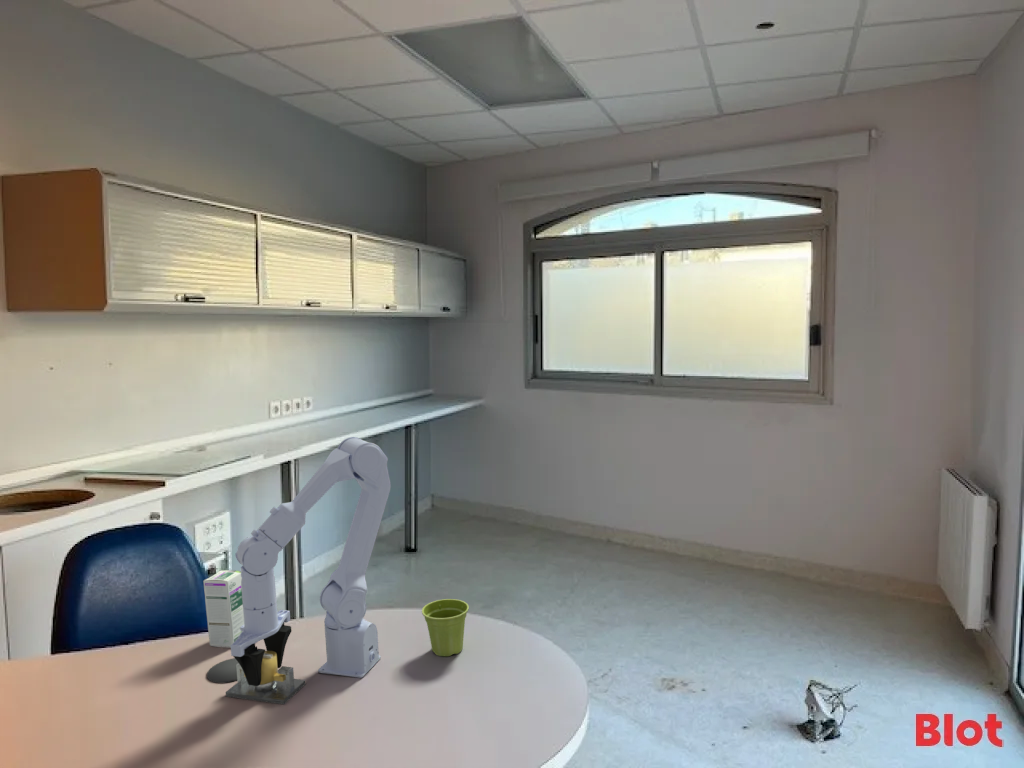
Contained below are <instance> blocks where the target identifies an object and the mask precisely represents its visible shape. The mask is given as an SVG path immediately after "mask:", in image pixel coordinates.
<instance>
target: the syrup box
mask: <svg viewBox="0 0 1024 768" xmlns="http://www.w3.org/2000/svg"><path fill="white" fill-rule="evenodd" d="M241 580H242V577H241V570H235V569H229V570H228V569H227V570H219V571H218V572H217V573H215V574H213V575H211V576H210V577H208V578H205V579H204V580H203V581H202V582H203V590H204V602H205V611H206V612H205V613H206V621H207V630H208V641H209V646H210V647H215V648H217V647H218V648H230V649H231V645H232V644H233V643H234V642H235V641H236V640H237V638H238V637H239V635H240V634H241V633H242V631H241V630H240V627H241V626H242V625H244V614H243V601H242V588H241Z"/></svg>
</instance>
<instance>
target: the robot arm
mask: <svg viewBox="0 0 1024 768" xmlns="http://www.w3.org/2000/svg"><path fill="white" fill-rule="evenodd" d="M388 460H389V458H388V456H387V455H386V454H385V453H384V451H383V449H381V447H380V446H379V445H377V444H375V443H373V442H368V441H366V440H363V439H361V438H360V437H356V436H350V437H347V438H344V439H343V440H342V441H341V442H340V443H339V444H338V446H337V447H336V448H334V449H333V450H332V451H330V453H329V454H328V456H327V458H326V459H325V460H324V462H323V463H322V464H321V466H320V467H319V468H318V469H317V471H316V472H315V473H314V474H313V475H312V476H311V478H310V479H309V480H308V481H307V482H306V484H305V485H304V486H303V487H302V489H300V491H299V492H298V493H297V495H296V496H295V497H294V498H293V499H292V501H289V502H282V503H280V504H279V505H278V507H276V506H273V507H272V508H271V509H270V511H269V513H270V515H269V516H268V517H267V518H266V519H265V521H264V522H262V524H261V525H260V526H259V527H258V528H257V529H255V528H254V529H253V530H252V532H251V533H250V534H251V535H250V536H249V537H246V538H244V539H243V540H242V541H241V542H240V543H239V545H238V547H237V550H236V552H235V555H234V556H235V558H236V560H237V562H238V563H239V564H240V565H241V566H240V571H241V577H242V580H241V588H242V601H243V614H244V625H242V626H241V627H240V630H241V631H242V633H241V634H240V635H239V637H238V638H237V640H236V641H235V642H234V643H233V644H232V645H231V648H230V654H231V657H233V658H235V659H236V660H237V661H238V663H239V664H240V666H241V667H242V669H243V672H244V674H245V676H246V679H247V682H248V684H249V685H253V686H259V685H260V683H261V666H262V659H263V655H264V653H265V651H274V652H276V654H277V667H278V669H280V668H281V667H282V666H283V665H282V664H283V658H284V655H285V649H286V645H287V642H288V639H289V637H290V635H291V633H292V626H291V625H285V623H289V622H290V621H291V613H290V611H291V610H287V609H285V610H284V609H280V610H278V604H277V603H278V601H277V590H276V589H277V588H276V587H277V586H276V577H275V569H274V568H275V567H276V565H277V563H278V559H279V554H280V552H281V551H282V550H283V549H284V548H285V547H286V546H287V545H288V544H289V542H291V540H292V539H293V538H294V537H295V536H296V535H297V533H299V531H301V529H302V528H303V527H304V526H305V524H306V514H307V513H308V512H309V511H310V510H311V509H312V508H313V507H314V506H315V504H317V503H318V502H319V501H320V500H321V499H322V498H323V496H325V495H326V494H327V492H329V491H330V490H331V488H333V486H335V485H336V483H338V482H344V481H351V480H354V479H355V481H356V482H357V484H358V485H359V487H360V488H361V490H360V494H359V498H358V501H357V505H356V506H355V510H354V514H353V518H352V521H351V524H350V527H349V531H348V533H347V537H346V540H345V544H344V547H343V551H342V555H341V558H340V560H339V564H338V567H337V568H336V569H335V570H334V571H333V572H332V573H331V574H330V577H329V580H328V581H327V584H326V585H324V587H323V588H322V590H321V592H320V595H319V604H320V606H321V607H322V608H323V610H324V611H326V614H325V617H324V634H325V636H324V637H325V651H326V662H324V664H322V666H320V667H319V668H318V670H317V672H318V673H320V674H327V675H336V676H343V677H344V676H345V677H351V678H352V677H353V678H354V677H355V678H360V679H361V678H364V676H366V674H367V673H368V672H369V671H370V670H371V669H372V668H373V667H374V666H375V665H376V664H377V663H378V661H379V660H380V659H381V656H382V655H380V654H379V653H380V652H379V638H378V637H379V636H378V634H379V633H378V627H377V625H376V624H375V623H374V622H370V621H368V620H367V619H365V618H364V617H365V616H366V612H367V603H366V602H367V601H366V597H367V592H368V587H367V586H368V585H367V580H366V573H367V570H368V567H369V563H370V560H371V556H372V553H373V549H374V547H375V543H376V539H377V536H378V532H379V529H380V526H381V522H382V519H383V516H384V512H385V508H386V505H387V502H388V498H389V495H390V492H391V489H392V488H391V487H392V484H391V479H390V474H389V469H388ZM260 641H264V642H263V643H264V646H265V649H263V648H258V646H256V644H257V643H258V642H260Z"/></svg>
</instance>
